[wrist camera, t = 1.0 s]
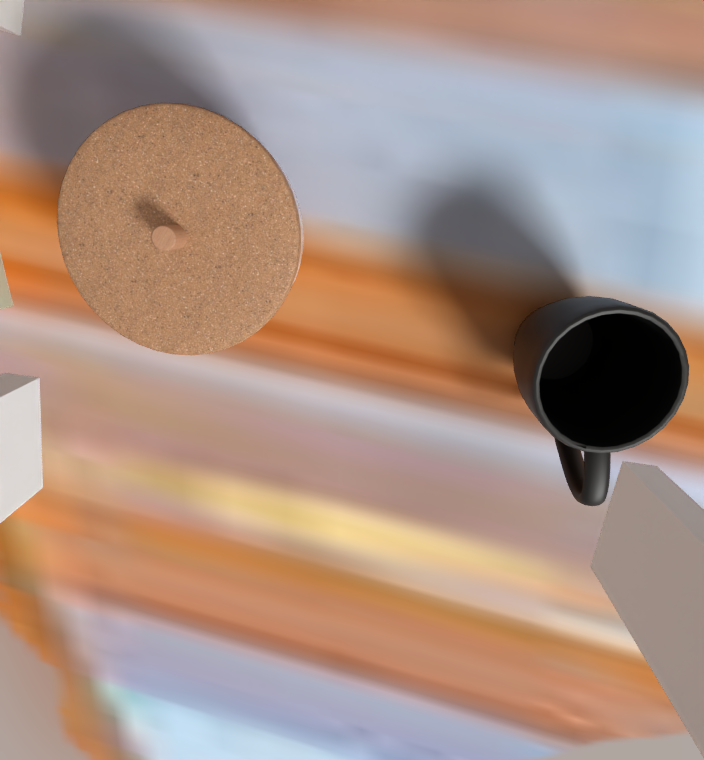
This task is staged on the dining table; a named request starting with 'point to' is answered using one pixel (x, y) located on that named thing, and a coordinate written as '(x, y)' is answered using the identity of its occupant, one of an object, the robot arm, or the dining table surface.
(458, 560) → the dining table surface
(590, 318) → the mug
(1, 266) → the sage block
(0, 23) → the grey block
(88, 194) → the lidded bowl
